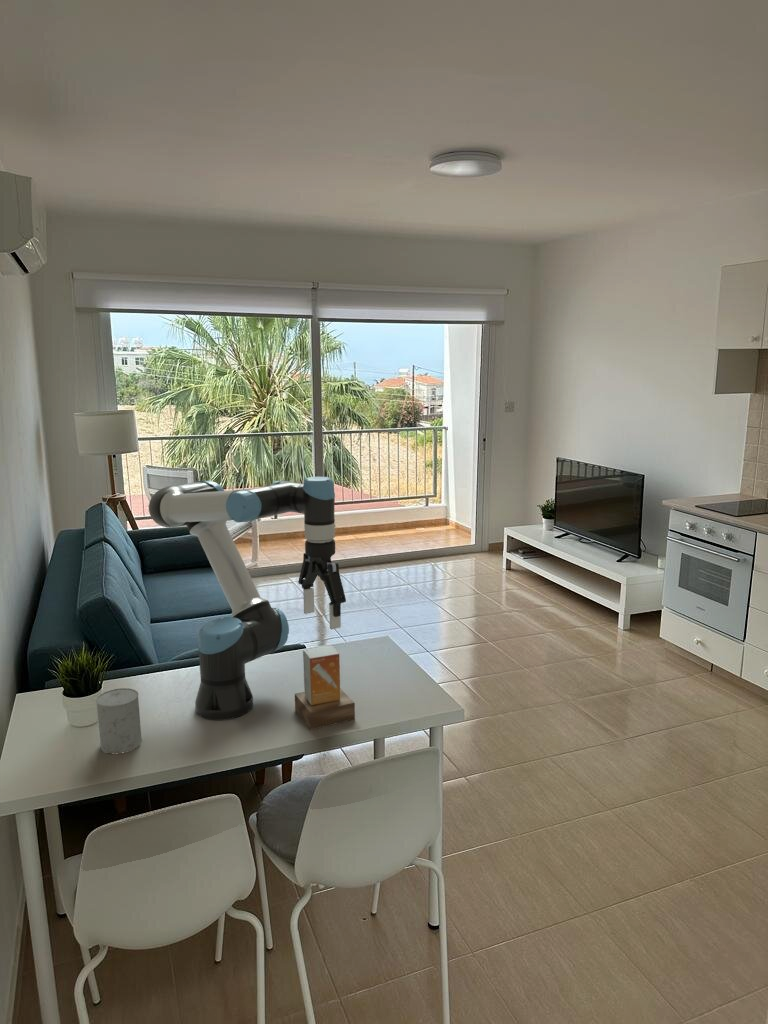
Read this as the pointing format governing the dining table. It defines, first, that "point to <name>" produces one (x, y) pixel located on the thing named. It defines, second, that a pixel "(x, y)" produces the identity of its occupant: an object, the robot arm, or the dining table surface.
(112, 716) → the grey marble cylinder
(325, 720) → the walnut block
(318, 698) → the small box
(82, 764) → the dining table surface
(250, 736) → the dining table surface
